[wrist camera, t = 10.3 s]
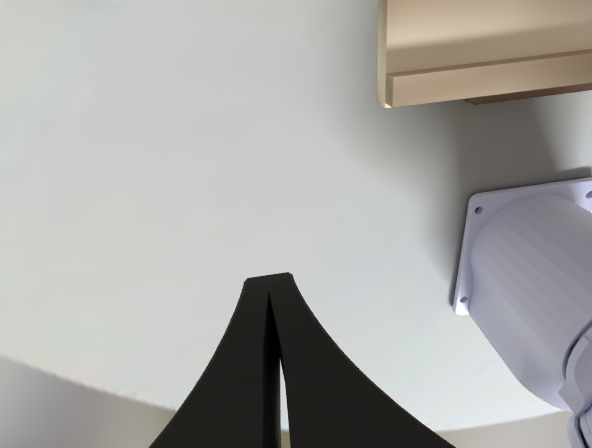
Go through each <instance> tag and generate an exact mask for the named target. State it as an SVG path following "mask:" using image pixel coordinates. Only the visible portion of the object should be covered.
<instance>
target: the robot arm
mask: <svg viewBox="0 0 592 448" xmlns="http://www.w3.org/2000/svg"><path fill="white" fill-rule="evenodd" d="M588 192H589V193H588ZM587 193H588V194H587ZM586 194H587V195H586ZM477 207H479V209H478V210H477V211H475V209H476V208H477ZM591 211H592V177H589V178H582V179H575V180H568V181H560V182H553V183H546V184H539V185H532V186H525V187H518V188H511V189H504V190H496V191H489V192H482V193H477V194H474V195H473V196H472V197H471V198H470V200H469V204H468V211H467V217H466V224H465V231H464V237H463V244H462V250H461V257H460V263H459V270H458V276H457V283H456V290H455V296H454V303H453V311H454V313H455V314H456V315H467V314H469V315H470V316H471V318H472V319H473V320H474V322H475V323H476V324H477V326H478V327H479V328H480V330H481V331H482V333H483V334H484V335H485V337H486V338H487V339H488V341H489V342H490V343H491V345H492V346H493V347H494V349H495V350H496V352H497V353H498V354H499V356H500V357H501V358H502V360H503V361H504V362H505V364H506V365H507V367H508V368H509V369H510V371H511V372H512V373H513V375H514V376H515V377H516V379H517V380H518V381H519V382H520V383H521V384H522V385H523V386H524V387H525V388H526V389H527V390H529V391H530V392H531V393H533V394H534V395H535V396H537V397H539V398H540V399H542V400H543V401H545V402H547V403H549V404H551V405H553V406H555V407H557V408H560V409H563V410H566V411H571V412H574V414H573V415H572V416H571V417H570V419H569V421H568V426H567V431H568V437H569V441H570V444H571V447H572V448H592V213H591ZM462 297H463V298H462ZM461 298H462V299H461ZM280 360H281V365H282V370H283V375H284V380H285V386H286V397H287V409H288V421H289V433H290V445H291V448H456V447H454V446H453V445H452V444H450V443H449V442H447V441H446V440H444V439H443V438H441V437H440V436H439V435H437V434H436V433H435V432H433V431H432V430H430V429H429V428H428V427H426V426H425V425H424V424H422V423H421V422H420V421H418V420H417V419H416V418H415V417H413V416H412V415H411V414H410V413H408V412H407V411H406V410H404V409H403V408H402V407H401V406H399V405H398V404H397V403H396V402H395V401H394V400H393V399H391V398H390V397H389V396H388V395H387V394H386V393H385V392H383V391H382V390H381V389H380V388H379V387H378V386H377V385H375V384H374V383H373V382H372V381H371V380H370V379H369V378H368V377H367V376H366V375H365V374H364V373H363V372H362V371H361V370H360V369H359V368H358V367H357V366H356V365H355V364H354V363H353V362H352V361H351V360H350V359H349V358H348V357H347V356H346V355H345V354H344V352H343V351H342V350H341V349H340V348H339V347H338V346H337V344H336V343H335V342H334V341H333V340H332V338H331V337H330V336H329V335H328V333H327V332H326V331H325V329H324V328H323V327H322V325H321V324H320V323H319V321H318V320H317V318H316V317H315V316H314V314H313V313H312V311H311V310H310V308H309V307H308V305H307V304H306V302H305V300H304V299H303V297H302V295H301V293H300V291H299V290H298V288H297V285H296V283H295V281H294V278H293V275H292V274H290V273H289V272H286V273H280V274H273V275H266V276H259V277H253V278H247V279H246V280H245V282H244V285H243V289H242V292H241V295H240V298H239V301H238V303H237V306H236V309H235V311H234V313H233V316H232V318H231V320H230V323H229V325H228V327H227V329H226V332H225V334H224V336H223V338H222V340H221V341H220V343H219V345H218V347H217V349H216V351H215V353H214V355H213V357H212V359H211V360H210V362H209V364H208V366H207V367H206V369H205V371H204V372H203V374H202V376H201V377H200V379H199V380H198V382H197V383H196V385H195V387H194V388H193V390H192V391H191V393H190V394H189V395H188V397H187V398H186V400H185V401H184V403H183V404H182V405H181V407H180V408H179V410H178V411H177V413H176V414H175V415H174V417H173V418H172V420H171V421H170V422H169V423H168V425H167V426H166V427H165V429H164V430H163V431H162V432H161V433H160V434H159V436H158V437H157V438H156V439H155V441H154V442H153V443H152V444H151V445H150V447H149V448H281V426H280Z"/></svg>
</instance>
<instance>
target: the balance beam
mask: <svg viewBox="0 0 592 448" xmlns="http://www.w3.org/2000/svg"><path fill="white" fill-rule="evenodd" d="M585 83H592V0H378V61H377V103H378V104H380V105H381V106H383V107H384V108H391V107H392V108H393V107H401V106H409V105H417V104H425V103H433V102H441V101H449V100H457V99H465V98H473V97H481V96H489V95H497V94H505V93H513V92H521V91H529V90H537V89H545V88H553V87H561V86H569V85H577V84H585Z"/></svg>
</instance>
